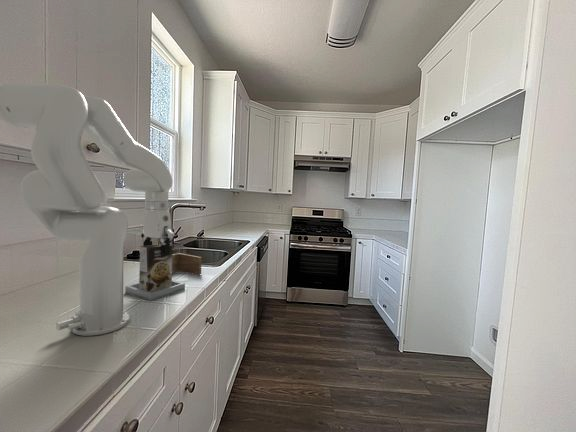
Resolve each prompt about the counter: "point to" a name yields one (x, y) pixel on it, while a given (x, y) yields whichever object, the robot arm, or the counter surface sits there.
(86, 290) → the robot arm
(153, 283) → the coffee box
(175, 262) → the brown open box
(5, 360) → the counter surface
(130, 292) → the tray
